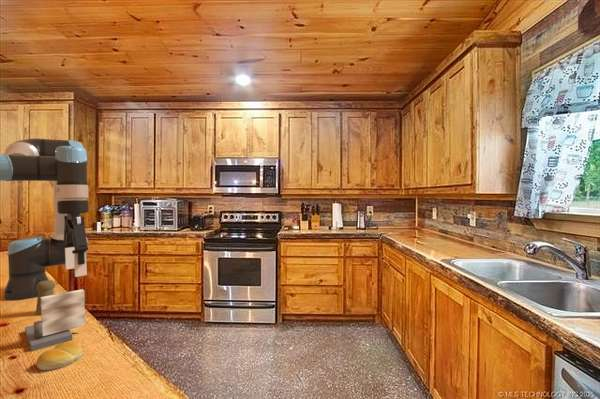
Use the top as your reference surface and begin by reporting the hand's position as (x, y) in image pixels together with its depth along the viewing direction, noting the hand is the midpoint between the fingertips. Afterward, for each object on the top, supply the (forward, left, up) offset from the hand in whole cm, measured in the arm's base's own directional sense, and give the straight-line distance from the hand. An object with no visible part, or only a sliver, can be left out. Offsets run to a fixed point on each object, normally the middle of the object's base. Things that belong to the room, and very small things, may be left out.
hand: (75, 272), depth 96 cm
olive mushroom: (-26, -14, -19) cm, 35 cm away
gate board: (-2, -8, -18) cm, 20 cm away
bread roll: (+17, -1, -19) cm, 25 cm away
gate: (+1, -4, -16) cm, 17 cm away
